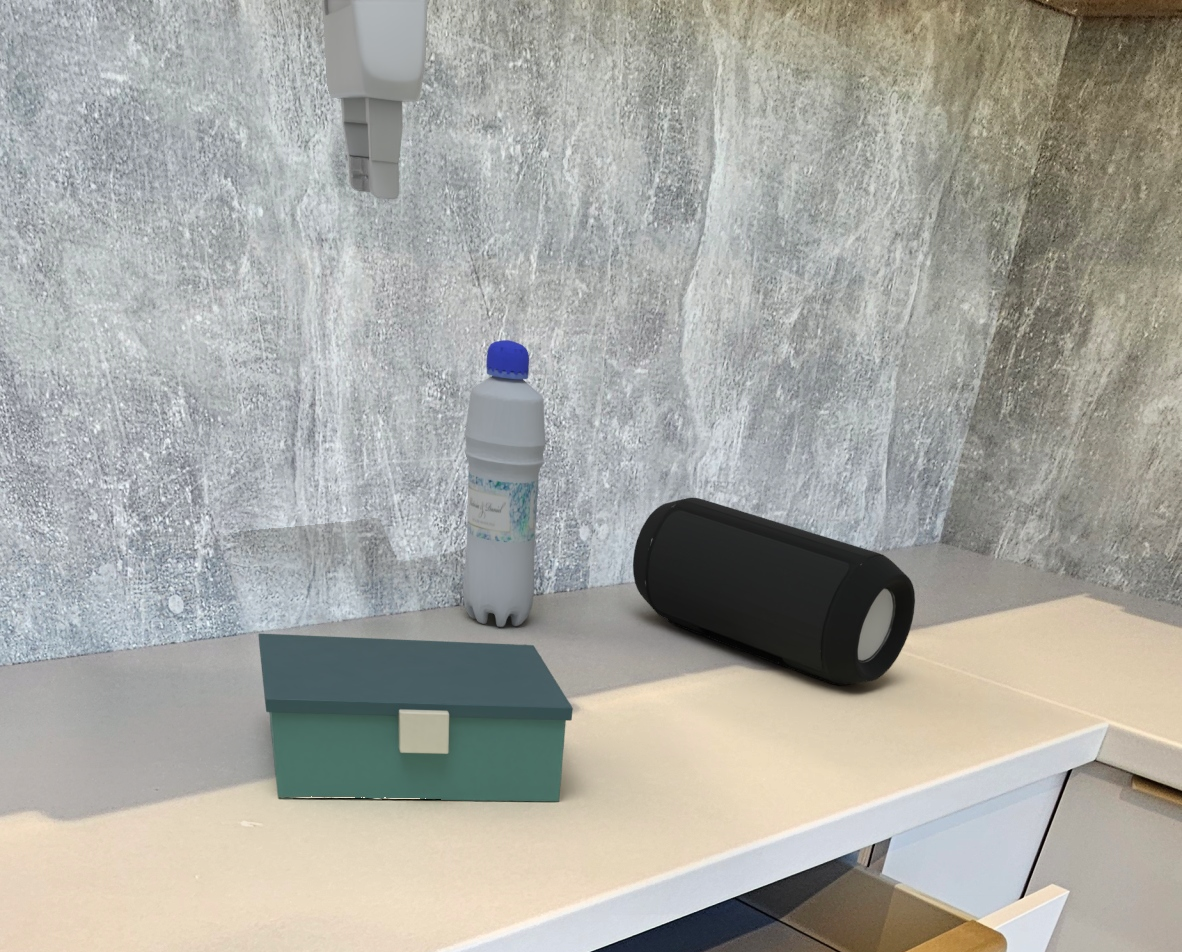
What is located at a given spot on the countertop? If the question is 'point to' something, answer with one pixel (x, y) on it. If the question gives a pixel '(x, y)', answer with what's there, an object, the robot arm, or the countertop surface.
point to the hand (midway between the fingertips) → (373, 194)
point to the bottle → (502, 487)
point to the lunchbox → (412, 719)
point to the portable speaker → (774, 590)
